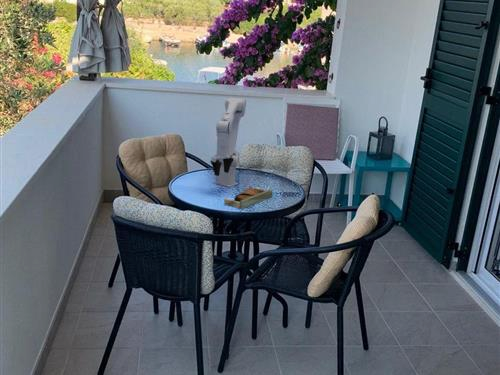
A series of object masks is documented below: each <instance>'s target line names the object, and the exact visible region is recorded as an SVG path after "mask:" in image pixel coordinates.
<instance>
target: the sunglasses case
mask: <svg viewBox="0 0 500 375" xmlns="http://www.w3.org/2000/svg"><path fill="white" fill-rule="evenodd" d="M257 194H259V192H258V191H256V190H254V187H252V186H250V187H249V188H247V189H245V190H244V191H242V192H240V193H238V194H237V195H236V196H235V197H234V201H238V202H240V201H241V200H244V199H246V198H249V197H252V196H254V195H257Z"/></svg>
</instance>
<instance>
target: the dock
mask: <svg viewBox="0 0 500 375" xmlns="http://www.w3.org/2000/svg"><path fill="white" fill-rule="evenodd" d="M253 189H254V190H256V191H258V192H259V194H257V195H254V196H252V197H249V198H246V199H244V200H241V201H240V202H238V201H234V200H233V199H231V198H230V199H229V198H223V199H224V201H223V205H226V206H230V207H233V208H237V209H240V210H244V209H246V208H249V207H251V206H254V205H256V204H258V203H261V202H263V201H265V200H268V199H270V198H273V191H274V190H273V189H263V188H259V187H253Z"/></svg>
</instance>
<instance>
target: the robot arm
mask: <svg viewBox="0 0 500 375" xmlns="http://www.w3.org/2000/svg"><path fill="white" fill-rule="evenodd" d="M224 107H225V112H223V113H222V116H221V118H220V120H219V121H217V122H216V125H215V126H216V129H215V130H216V131H215V132H216V137H217V140H216V154H215V155H213V156H212V157H211V160H210V164H211V166H212V170H213V173H214V176H215V182H214V184H216V185H219V186H223V187H228V188H230V187H234V186H237V185H238V184H239V183H238V182H236V170H237V169H236V168H238V167H239V164H240V152H239V151H238V150H237V149H236V145H237V140H238V132H239V126H240V122H241V118H243V117H245V114H246V108H247V100H246V98H238V97H229V96H227V97H226V98H225V102H224Z"/></svg>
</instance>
